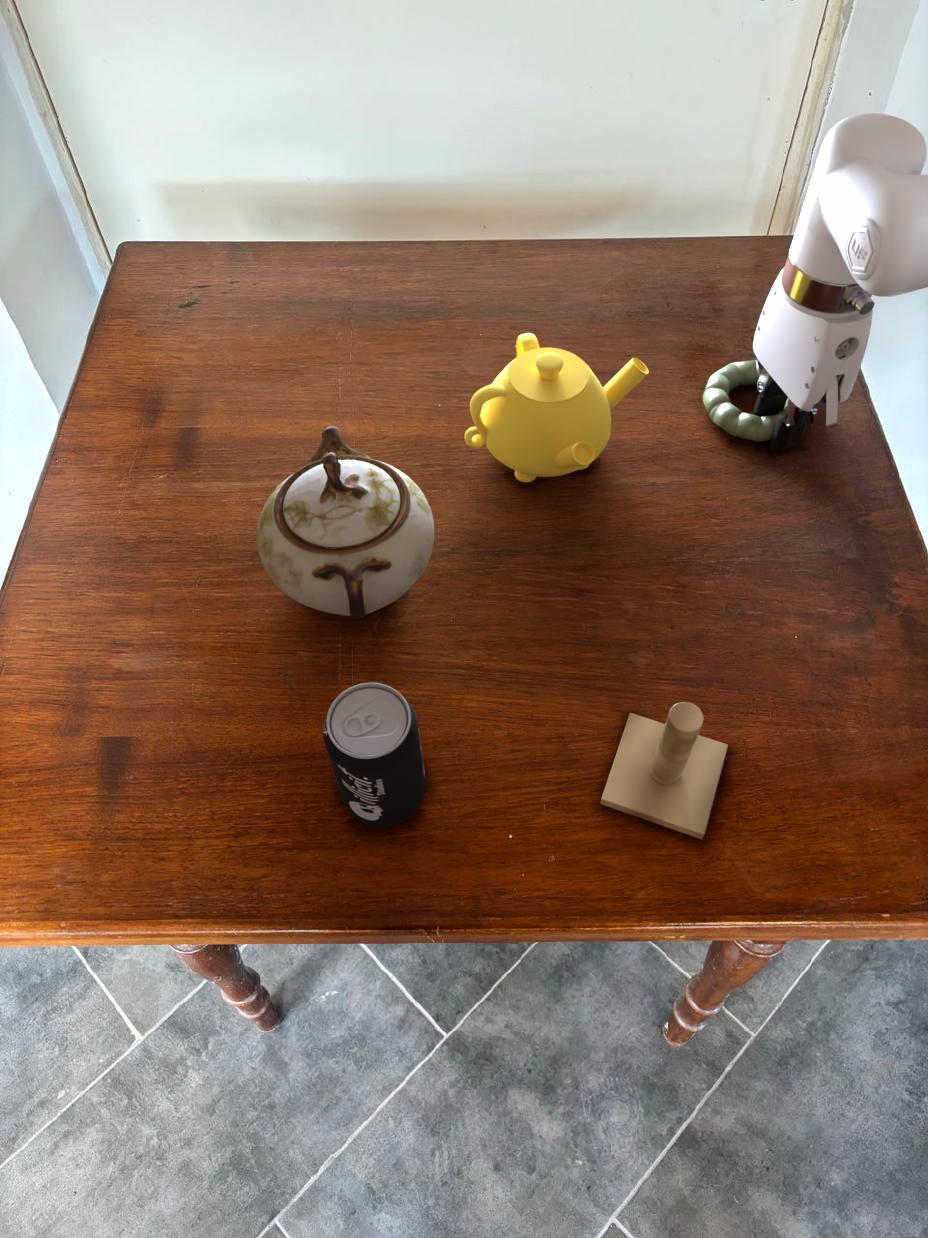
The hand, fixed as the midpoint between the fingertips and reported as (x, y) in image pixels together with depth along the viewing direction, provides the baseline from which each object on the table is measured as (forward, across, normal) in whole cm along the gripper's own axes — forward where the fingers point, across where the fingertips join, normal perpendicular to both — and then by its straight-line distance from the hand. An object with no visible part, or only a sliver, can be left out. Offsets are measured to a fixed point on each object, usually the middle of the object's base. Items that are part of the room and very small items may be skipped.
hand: (774, 432), depth 94 cm
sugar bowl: (0, -2, +44) cm, 44 cm away
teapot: (0, +6, +21) cm, 22 cm away
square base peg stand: (0, -29, +27) cm, 40 cm away
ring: (-1, +4, 0) cm, 4 cm away
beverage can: (0, -23, +48) cm, 53 cm away
